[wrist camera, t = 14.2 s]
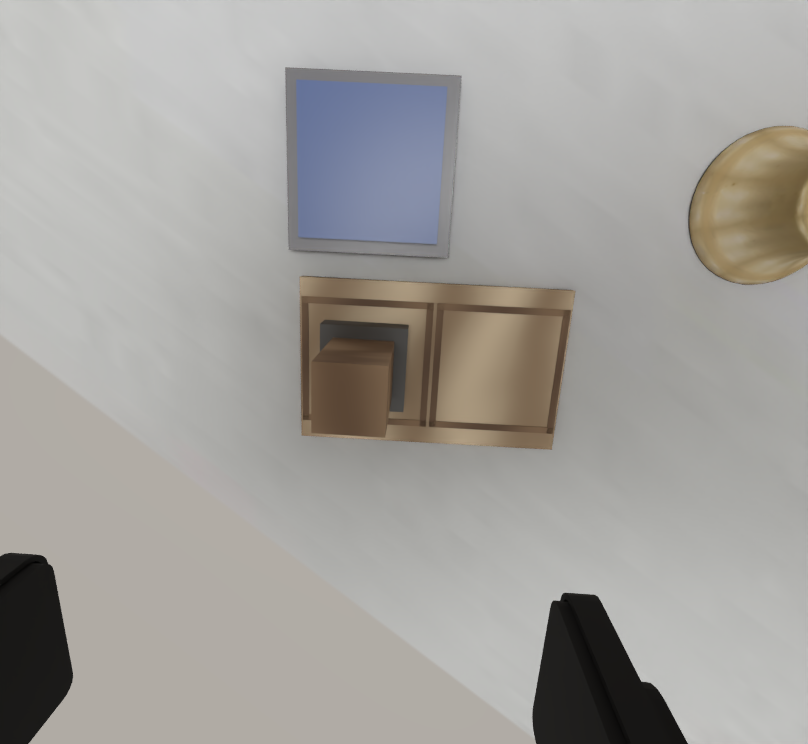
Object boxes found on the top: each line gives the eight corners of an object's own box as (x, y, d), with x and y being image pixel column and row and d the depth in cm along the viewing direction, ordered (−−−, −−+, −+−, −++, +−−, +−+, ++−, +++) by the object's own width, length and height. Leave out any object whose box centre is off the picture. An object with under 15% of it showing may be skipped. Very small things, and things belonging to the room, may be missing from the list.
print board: (571, 290, 27) (575, 291, 26) (548, 445, 29) (551, 449, 29) (302, 276, 27) (299, 276, 26) (303, 431, 30) (301, 435, 29)
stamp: (408, 324, 27) (406, 350, 20) (404, 403, 28) (400, 453, 22) (325, 319, 27) (294, 344, 20) (324, 398, 28) (295, 446, 22)
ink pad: (459, 82, 24) (462, 71, 22) (447, 257, 26) (448, 258, 25) (290, 74, 24) (282, 62, 23) (293, 249, 27) (285, 249, 25)
